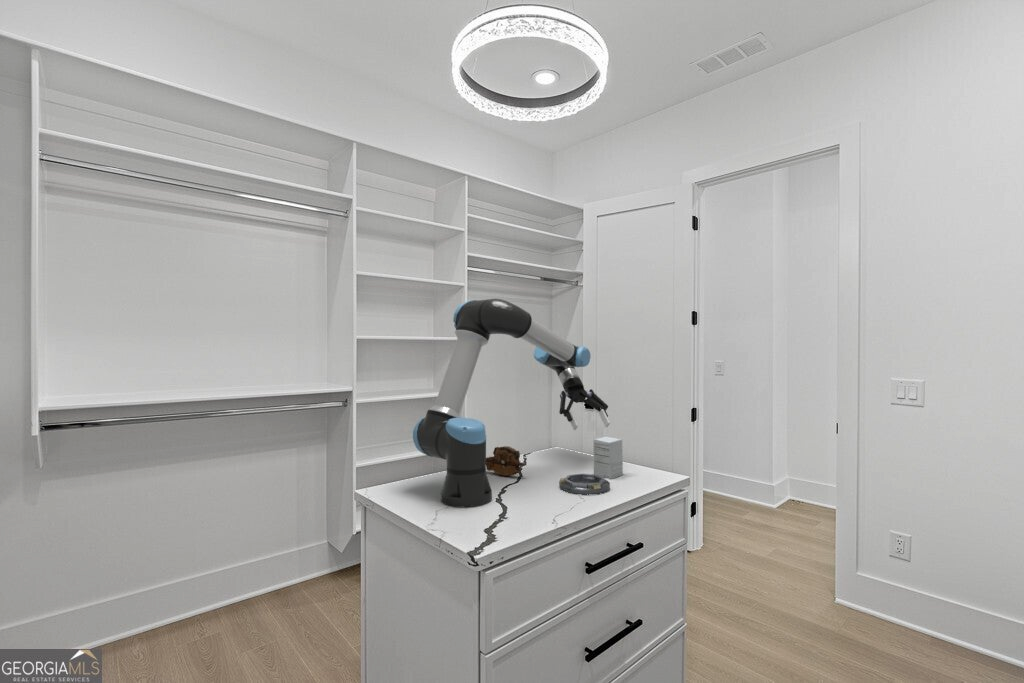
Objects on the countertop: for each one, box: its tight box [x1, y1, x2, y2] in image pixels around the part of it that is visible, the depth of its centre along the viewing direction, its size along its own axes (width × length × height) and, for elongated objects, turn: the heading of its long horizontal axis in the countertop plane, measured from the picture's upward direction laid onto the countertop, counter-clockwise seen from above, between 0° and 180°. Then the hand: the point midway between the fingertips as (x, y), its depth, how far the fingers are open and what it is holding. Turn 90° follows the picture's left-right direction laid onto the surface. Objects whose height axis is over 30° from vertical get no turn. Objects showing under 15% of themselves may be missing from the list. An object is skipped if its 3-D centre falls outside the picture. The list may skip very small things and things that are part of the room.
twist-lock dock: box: [558, 473, 611, 496], centre depth 159 cm, size 16×16×3 cm
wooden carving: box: [486, 445, 526, 477], centre depth 175 cm, size 16×5×10 cm, turn 60°
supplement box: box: [593, 436, 624, 480], centre depth 173 cm, size 7×7×13 cm
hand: (592, 426), depth 183 cm, fingers open, 13 cm apart
